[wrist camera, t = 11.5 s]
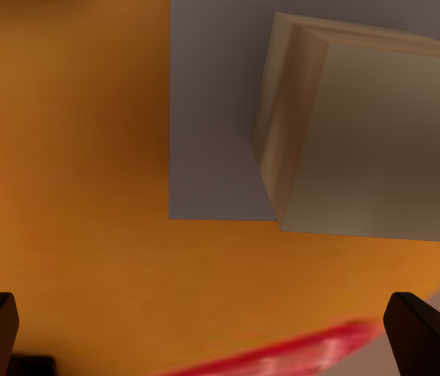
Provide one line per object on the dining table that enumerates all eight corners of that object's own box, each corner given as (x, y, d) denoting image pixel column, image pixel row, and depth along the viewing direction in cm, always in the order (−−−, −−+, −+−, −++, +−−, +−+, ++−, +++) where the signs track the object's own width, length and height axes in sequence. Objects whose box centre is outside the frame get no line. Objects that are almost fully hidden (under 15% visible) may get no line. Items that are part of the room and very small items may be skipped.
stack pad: (385, 182, 22) (421, 223, 19) (171, 176, 21) (168, 218, 18) (465, -70, 16) (539, -78, 13) (174, -97, 15) (171, -114, 12)
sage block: (364, 154, 17) (444, 241, 12) (250, 143, 16) (280, 230, 11) (407, 30, 14) (533, 71, 9) (275, 11, 14) (330, 43, 9)
